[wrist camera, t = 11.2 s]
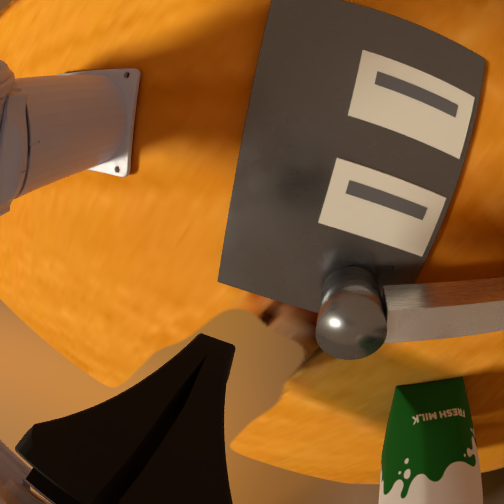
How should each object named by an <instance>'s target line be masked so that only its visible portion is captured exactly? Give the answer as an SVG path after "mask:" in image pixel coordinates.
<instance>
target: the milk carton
mask: <svg viewBox="0 0 504 504" xmlns="http://www.w3.org/2000/svg"><path fill="white" fill-rule="evenodd" d="M379 504H483V495H482V483H481V473H480V465H479V457H478V451H477V445H476V439H475V434H474V429H473V423H472V418H471V413H470V408H469V404H468V399H467V395H466V391H465V386H464V382H463V378H462V377H460V378H454V379H449V380H443V381H436V382H430V383H422V384H415V385H406V386H396V388H395V393H394V398H393V402H392V407H391V411H390V415H389V419H388V423H387V428H386V434H385V440H384V445H383V450H382V460H381V478H380V493H379Z"/></svg>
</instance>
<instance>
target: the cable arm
mask: <svg viewBox="0 0 504 504" xmlns="http://www.w3.org/2000/svg"><path fill="white" fill-rule="evenodd" d="M501 330H504V277H499V278H488V279H476V280H464V281H451V282H437V283H422V284H405V285H385V286H383V294H382V296H381V290H380V285H379V282H378V280H377V279H376V277H375V276H374V275H373V274H372V273H371V272H369V271H367V270H366V269H363V268H360V267H344V268H341V269H338V270H336V271H334V272H333V273H331V274H330V275H329V276H328V277H327V278H326V279H325V281H324V283H323V285H322V288H321V295H320V303H319V311H318V319H317V327H316V340H317V343H318V344H319V346H320V347H321V349H322V350H323V351H325V352H326V353H327V354H329V355H331V356H333V357H336V358H339V359H345V360H353V359H360V358H364V357H366V356H369V355H371V354H372V353H374V352H375V351H377V350H378V349H379V348H380V347H381V346H382V344H383V343H394V342H409V341H422V340H433V339H443V338H452V337H460V336H468V335H475V334H482V333H489V332H495V331H501Z"/></svg>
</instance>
